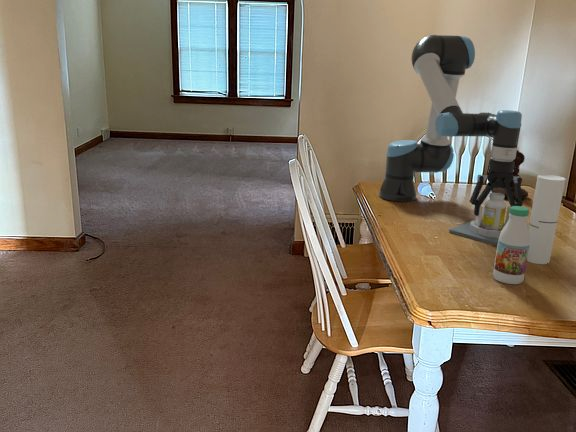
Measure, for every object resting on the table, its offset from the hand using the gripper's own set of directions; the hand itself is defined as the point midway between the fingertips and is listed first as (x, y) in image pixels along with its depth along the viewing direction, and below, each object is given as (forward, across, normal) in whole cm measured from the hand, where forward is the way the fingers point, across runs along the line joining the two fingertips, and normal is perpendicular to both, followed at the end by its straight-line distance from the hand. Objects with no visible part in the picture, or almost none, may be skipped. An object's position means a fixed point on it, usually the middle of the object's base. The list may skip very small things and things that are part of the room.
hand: (492, 225), depth 177 cm
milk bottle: (+3, -8, -38) cm, 39 cm away
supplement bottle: (+2, 0, 0) cm, 2 cm away
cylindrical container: (+3, +6, -23) cm, 24 cm away
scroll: (+3, +25, +52) cm, 58 cm away
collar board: (+3, 0, 0) cm, 3 cm away
